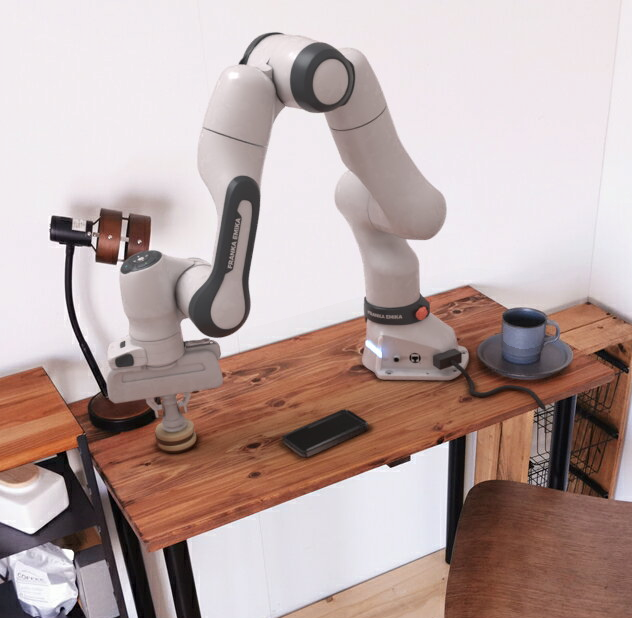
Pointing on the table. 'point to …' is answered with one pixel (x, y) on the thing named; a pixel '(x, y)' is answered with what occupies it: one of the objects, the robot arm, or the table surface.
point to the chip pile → (175, 438)
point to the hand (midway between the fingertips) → (171, 413)
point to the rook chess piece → (172, 415)
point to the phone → (325, 433)
